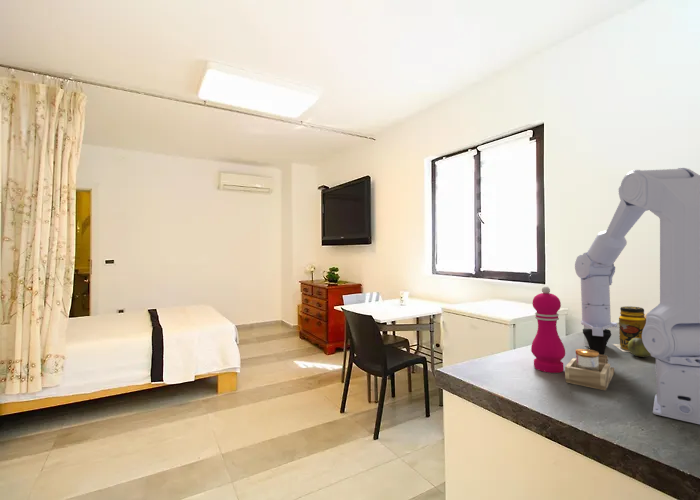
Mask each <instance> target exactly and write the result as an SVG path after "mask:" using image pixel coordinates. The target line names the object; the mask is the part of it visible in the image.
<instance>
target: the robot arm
mask: <svg viewBox="0 0 700 500" xmlns="http://www.w3.org/2000/svg"><path fill="white" fill-rule="evenodd" d="M620 182H621V183H620V186H619V187H618V196H619V200H620V201H619V203H618V206H617V207H616V210H615V212H614V214H613V216H612V218H611V221H610V223H609V225H608V226H607V229H606V230H602V231H600V232H598V233H597V235H596V237H595V238H594V239H593V242H592V243H591V244H590V247H589V248H588V250H587V252H583V253H582V254H579V255H578V256H576V259H575V262H574V269H575V273H576V275H577V277H578V278H579V279H580V294H581V298H580V299H581V321H580V323H581V325H582V326H583V327H584V326H586V327H588V328H590V329H584V328H583V329H582V333H583V336H584V335H585V337H586V339H587V341H588V344H589V347H588V348H589V350H594V351H597V352H599V354H601V355H605V352H606V349H607V348H606V347H607V345H608V342H609V340H610V339H611V337H612V332H611V329H609V328H612V327H613V328H614V327H615V328H616V327H618V324H617V322H614V321H613V322H612V321H611V317H612V316H611V291H610V289H611V288H610V286H612V284H613V277H614V275H615V273H616V266H615V262H616V261H617V259H618V258H619V256H620V255H621V254H622V252H623V250H624V249H625V248H626V246H627V243H628V241H627V239H626V235H628V233H629V232H630V230H631V229H632V228H633V227H634V225H635V224H636V223H637V222H638V221H639V219H640V218H641V217H642V216H643V215H644V214H645V212H646V211H650V212H651V213H652V214H654V215H655V216H656V217H658V218H659V303H658V305H656V306H655V307H654V308H653V309H651V310H650V311H648V312H647V313H645V318H646V324H645V326H644V329H643V331H642V341H643V344H644V346H645V348H646V349H647V351H648V352H649V353H650V357H652V358H655V376H656V377H655V379H656V394H655V395H654V400H653V408H652V414H654V415H657V416H660V417H661V416H662V417H666V418H669V419H674V420H678V421H683V422H687V423H692V424H697V425H700V174H699V173H696V172H695V171H694V170H691V169H690V168H687V167H678V168H669V169H665V168H664V169H644V170H643V169H642V170H641V169H632V170H630V171H628V172H627V173H626V174H625V175H624V177H623V179H622V180H621V181H620Z"/></svg>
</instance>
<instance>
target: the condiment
mask: <svg viewBox="0 0 700 500" xmlns="http://www.w3.org/2000/svg"><path fill="white" fill-rule="evenodd" d="M619 309H620V312H619V314H620V316H619V317H618V325H619V326H618V327H619V330H618V331H619V332H618V333H619V336H618V337H619V343H618V344H617V343H612V345H613V346H615V347H616V348H617V349H618V350H620V351H622V352H624V353H631V352H630V351H629V349H628V343H629V341H630V340H632V339H633V338H641V339H642V331H643V329H644V326H645V324H646V313H645V309H644V308H643V307H639V306H631V305H630V306H629V305H628V306H620V308H619Z"/></svg>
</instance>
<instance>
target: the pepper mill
mask: <svg viewBox="0 0 700 500" xmlns="http://www.w3.org/2000/svg"><path fill="white" fill-rule="evenodd" d="M550 292H551V289H550V288H549V286H544V287H542V289H541V293H538V294H536V295H535V296H534V297H533V299H532V307H533V309H534V310H535V313H534V314H535V319H536V320H537V330H536V331H537V332H536V334H535V336H534V338H533V340H532V342H531V347H530V348H531V349H530V351H531V353H532V355H533V356H534V357H535V358H534V359H533V367H534V369H536V370H537V371H541V372H543V373H549V374H550V373H551V374H557V373H558V374H559V373H562V372H564V371H565V367H564V362H562V360H563V359H564V358H565V356H566V348H565V346H564V343H563V341H562V340H561V337H560V335H559V334H558V333H559V332H558V329H557V328H558V327H557V323H558V322H557V321H558V320H559V319H560V318H559V315H560V314H559V313H558V312H559V310H561V308H562V307H561V306H562V304H561V299H560V298H559V297H558V295H556V294H553V293H550Z"/></svg>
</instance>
